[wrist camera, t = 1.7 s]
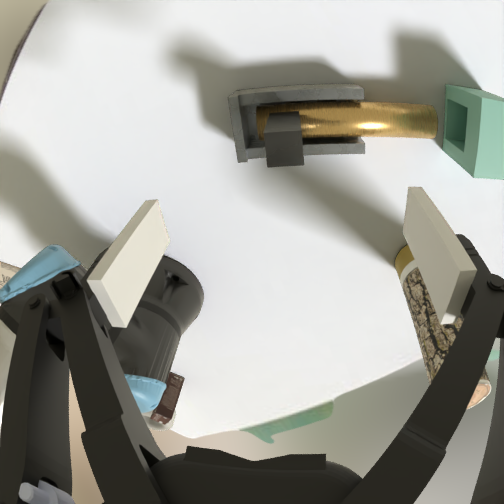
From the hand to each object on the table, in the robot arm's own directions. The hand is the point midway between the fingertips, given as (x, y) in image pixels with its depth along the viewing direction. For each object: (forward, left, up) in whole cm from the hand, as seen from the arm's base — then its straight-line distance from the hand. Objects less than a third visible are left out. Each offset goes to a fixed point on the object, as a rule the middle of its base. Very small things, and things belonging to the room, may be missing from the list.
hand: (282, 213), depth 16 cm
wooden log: (+18, -22, -24) cm, 38 cm away
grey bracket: (+1, 0, -24) cm, 24 cm away
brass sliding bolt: (+7, 0, -23) cm, 24 cm away
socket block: (+23, 0, -24) cm, 34 cm away
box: (-32, -58, -24) cm, 70 cm away
